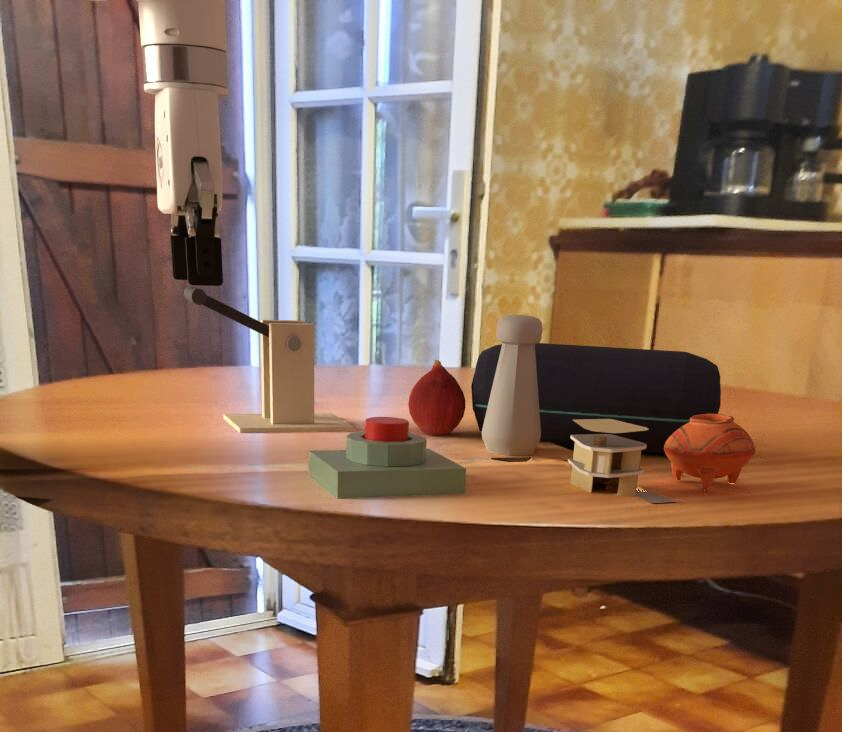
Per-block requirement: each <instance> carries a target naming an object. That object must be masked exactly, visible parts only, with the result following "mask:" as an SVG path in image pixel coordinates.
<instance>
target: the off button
mask: <svg viewBox="0 0 842 732" xmlns="http://www.w3.org/2000/svg"><path fill="white" fill-rule="evenodd" d="M364 423H365V424H364V425H365V426H364V431H365V439H368V440H373V441H384V442H402V441H408V433H409V431H410V429H409V427H410V420H408V419H405V418H401V417H394V416H373V417H367V418H365V421H364Z"/></svg>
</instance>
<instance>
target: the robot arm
mask: <svg viewBox="0 0 842 732" xmlns="http://www.w3.org/2000/svg"><path fill="white" fill-rule="evenodd" d="M89 1H91V2H97V1H98V2H99V1H100V2H102V1H105V0H89ZM135 1H136V2H137V4H138V5H137V6H138V20H139V36H140V49H141V59H142V60H141V64H142V77H143V91H144V93H147V94H149V95H155V97H154V98H155V99H154V144H155V145H154V146H155V166H156V167H155V169H156V171H155V172H156V195H157V196H156V198H157V199H156V200H157V201H156V202H157V208H158V210H159V211H160V212H161V213H162V214H164V215H170V233H171V235H169V238H170V255H171V257H170V258H171V272H172V278H173V279H175V280H178V281H187V283H188V284H189V286H195V287H196V286H198V287H199V286H201V287H202V286H203V287H205V286H206V287H221V286H222V285H224V284H223V283H224V273H223V254H222V249H223V247H222V238H221V227H220V221H219V213H220V212H221V211H222V209H223V198H224V197H223V196H224V194H223V189H224V188H223V186H224V185H223V162H222V161H223V159H222V158H223V157H222V143H221V141H222V140H221V128H220V115H219V114H220V112H219V104H218V103H219V102H218V101H219V100H218V99H225V98H226V99H227V98H228V97H230V93H229V72H228V71H229V70H228V69H229V68H228V44H227V43H228V41H227V20H226V19H227V18H226V0H135Z"/></svg>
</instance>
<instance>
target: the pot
mask: <svg viewBox="0 0 842 732" xmlns="http://www.w3.org/2000/svg"><path fill="white" fill-rule="evenodd" d="M734 421H735V418H734V416H732V415H725V414H722V413H718V414H700V415H695V416H692V417H691V418H690V422H689V423H687V424H685V425H683V426H682V427H680V428H679V429H678V430H676V431H675V432H674V433H673V434H672V435H671V436H670V437H669V438H668V439H667V441H666V443H665V445H664V451H665V454H664V455H666V457H667V459H668V460H669V461H670V466H671V475H672V478H674V479H675V480H677V481H678V480H680V481H681V479H682V474H683V473H684V474H686V475H688V476H690V477H693V478H695V479H696V478H697V479H700V482H701V485H702V491H703V490H705V491H707V492H708V491H709V490H710V489H709V488H710V486H711V484H712V482H713V480H716V479H721V478H724V477H727V483H728V482H729V483H735V484H736V483H737V481H738V479H739V477H740V475H741V471H742V469H743V467H744V466H746V465H747V464H748V463H749V462H750V461H751V460H752V458H753V457H754V455H755V454H756V447H755V444H754V441H753V439H752V437H751V435H750V434H749V433H748V432H747V430H745V428H743V427H742V426H741V425H739V424H738V423H736V422H734ZM729 483H728V484H729ZM705 491H704V492H705Z"/></svg>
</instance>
